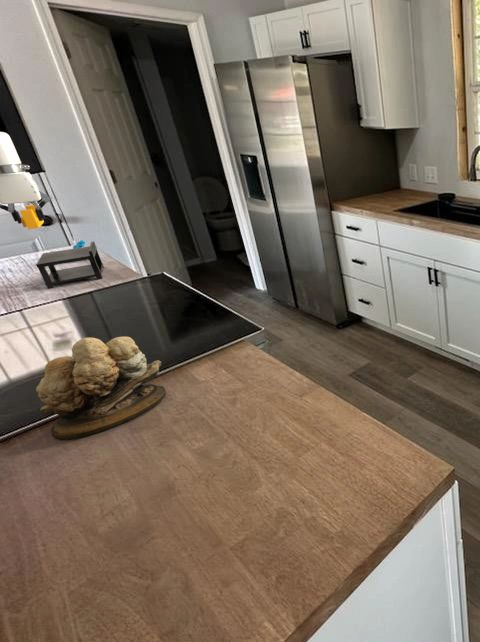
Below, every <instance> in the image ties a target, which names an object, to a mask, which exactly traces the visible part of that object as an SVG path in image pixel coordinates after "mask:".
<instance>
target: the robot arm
mask: <svg viewBox="0 0 480 642" xmlns="http://www.w3.org/2000/svg"><path fill="white" fill-rule="evenodd" d="M30 169H31V167H30V165H29V164H24V163H22V160H21V159H20V157H19V154H18V152H17V149H16V147H15V145H14V142H13V140H12V138H11V136H10V135H9V134H8V133H7V132H4V131H0V209H1V210H4V211H6V212H8V213H9V214H11V216H12V218H13V221H14V222H17V224H19V225H20V224H22V222H21V217H22V216H21V214H20V213H19V211H18V210H17V209H16V206H15V204H23V203H24V204H25V203H31V205H34V207H35V209H36V210H35V212H36V214H37V217H38V219H39V221H43V220H44V219H45V218H46V217H45V214H44V212H43V207H44V206H45V205H46V204H48V203H49V202H51V200H52V197H51V196H49V195H47V194H46V193H44V192H43V191H41V190H40V188H39V186H38V184H37V183H36V181H35V179H34V177H33V176H32V174H31V173H30V172H28V171H27V170H30ZM41 199H42V200H41ZM40 200H41V201H40ZM39 201H40V202H39Z"/></svg>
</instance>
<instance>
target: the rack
mask: <svg viewBox="0 0 480 642" xmlns="http://www.w3.org/2000/svg"><path fill="white" fill-rule="evenodd" d="M88 259H89V260H88ZM81 261H89V263H90V264H86V265H79V266H74V267H68V268H62V269H57V268H56V266H58V265H63V264H69V263H75V262H81ZM46 267H48V269H49V271H50V273H48V270H47V268H46ZM36 268H37V269H38V272H39V273H40V276H41V277H42V280H43V281H44V285H45V286H46V288H47V290H51V289H54V287H55V286H54V285H58V284H64V283H68V282H75V281H80V280H84V279H89V278H90V279H91V278H95V279H96V280H102V279H103V275H102V273H103V269H105V266H104V263H103V261H102V258H101V257H100V254H99V251H98V248H97V245H96V243H95V240H94V241H91V242H90V245H88V246H84V247H82V248H75V249H73V248H70V249H63V250H55V251H50V252H44V253H43V252H42V254H41V255H40V257H39V259H38V261H37V262H36Z"/></svg>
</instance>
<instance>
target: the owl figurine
mask: <svg viewBox="0 0 480 642" xmlns="http://www.w3.org/2000/svg"><path fill="white" fill-rule="evenodd" d="M161 366H162V361H160V360H158V359H157V360H154V361H152V362H151V363H147V358H146V355H145V354H144V353H143V352H142V351H141V350H140V349H139V346H138V345H137V344H136V341H135V340H134V339H133V338H132V337H130V336H116V337H114V338H111V339H110V340H108V341H107V342H106V343H104V342H103V341H102V339H99V338H95V337H83V338H81V339H79V340H77V341H76V342H75V343H74V344H73V345H72V347H71V356H69V355H67V356H60V357H56V358H53V359H52V360H50V361H48V362H47V363H46V364H45V367H44V368H45V369H44V377H42V378H41V380H40V382H39V383H38V385H37V386H36V388H35V391H36V393H37V395H38V398H39V399H40V401H41V402H42V403H44V404H45V405H43V406H41V408H40V409H39V411H40V413H42V414H55V415H58V416H59V417H58V418H57V419H56V421H55V422H54V424H53V425H52V427H51V429H50V433H51V435H52V437H54V438H55V439H58V440H61V441H64V440H65V441H66V440H67V441H68V440H74V439H79V438H83V437H87V436H91V435H94V434H98V433H100V432H105V431H107V430H110V429H112V428H115V427H117V426H120V425H122V424H125V423H128V422H130V421H132V420H134V419H136V418H138V417H140V416H142V415H144V414H146V413H147V412H149V411H150V410H152V409H153V408H155V407H156V406H157V405H159V404H160V403H161V402H162V401H163V399H164V398H165V397H166V393H167V391H166V388H165V387H164V386H163V385H157V384H151V383H147V382H149V381H151V380H153V379H154V378H156V377H157V376H158V374H159V373H160V372H159V370H160V367H161ZM145 383H146V384H145Z"/></svg>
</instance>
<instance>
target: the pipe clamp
mask: <svg viewBox="0 0 480 642" xmlns="http://www.w3.org/2000/svg"><path fill="white" fill-rule="evenodd" d="M35 210H36V209H35V207H34V205H33V204H30V205H25V209H21V210H20V211H19V212H20V217H21V222H22V223H21V224H22V226H23V228H27V230H35V229H39V228H40V227H41V226H42V225H43V224H44V223H45V221H44V219H43V221H39V219H38V217H37V214H36V212H35Z"/></svg>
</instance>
